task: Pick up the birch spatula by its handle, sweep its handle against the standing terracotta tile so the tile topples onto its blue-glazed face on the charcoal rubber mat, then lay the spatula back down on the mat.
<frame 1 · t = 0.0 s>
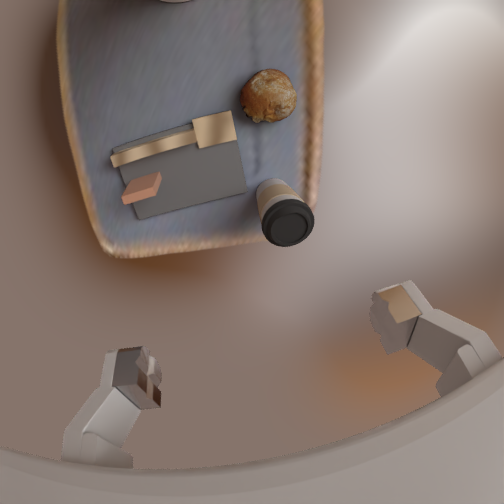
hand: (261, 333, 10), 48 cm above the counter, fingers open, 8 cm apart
spatula: (154, 145, 49), point 1 cm above the counter, touching mat
tile: (146, 179, 52), point 1 cm above the counter, touching mat
coffee cup: (272, 193, 59), on the counter
mat: (180, 167, 53), on the counter
bread roll: (266, 96, 48), on the counter
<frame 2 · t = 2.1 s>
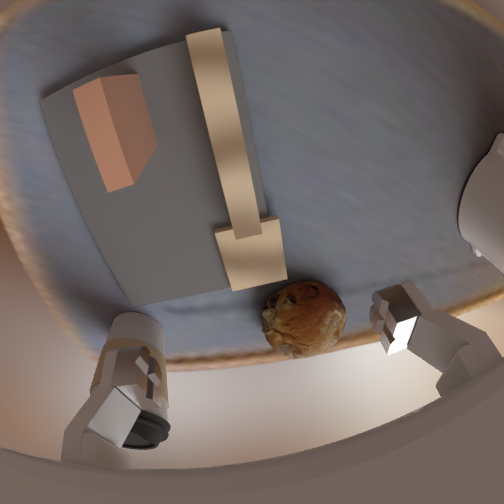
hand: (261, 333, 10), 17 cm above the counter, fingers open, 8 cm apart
spatula: (225, 133, 21), point 1 cm above the counter, touching mat
tile: (138, 112, 19), point 1 cm above the counter, touching mat
coffee cup: (138, 329, 34), on the counter
mat: (165, 188, 24), on the counter
bread roll: (298, 306, 35), on the counter
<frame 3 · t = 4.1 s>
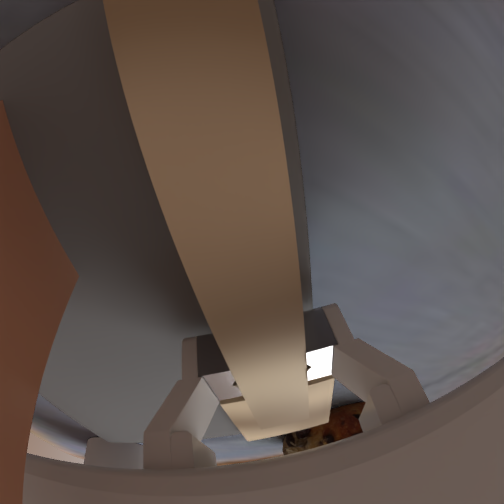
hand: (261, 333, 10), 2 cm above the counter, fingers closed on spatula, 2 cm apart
spatula: (241, 250, 8), point 1 cm above the counter, touching gripper, mat
tile: (18, 202, 6), point 1 cm above the counter, touching mat
coffee cup: (121, 447, 21), on the counter
mat: (118, 334, 11), on the counter
bread roll: (330, 422, 22), on the counter
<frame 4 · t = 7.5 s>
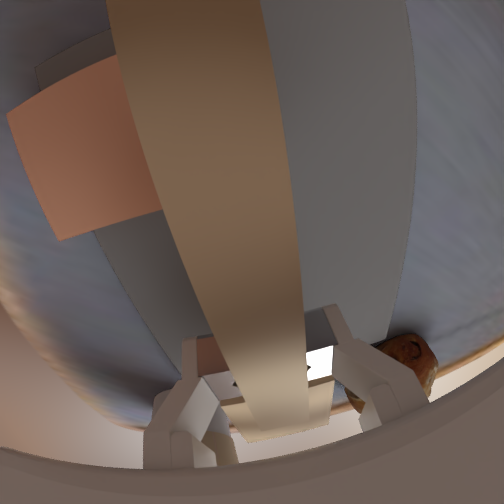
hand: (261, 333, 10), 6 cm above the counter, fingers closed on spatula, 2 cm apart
spatula: (242, 253, 8), point 6 cm above the counter, touching gripper
tile: (222, 107, 9), point 2 cm above the counter, tilted 90°, touching mat
coffee cup: (188, 402, 25), on the counter
mat: (268, 236, 15), on the counter
bread roll: (383, 360, 26), on the counter
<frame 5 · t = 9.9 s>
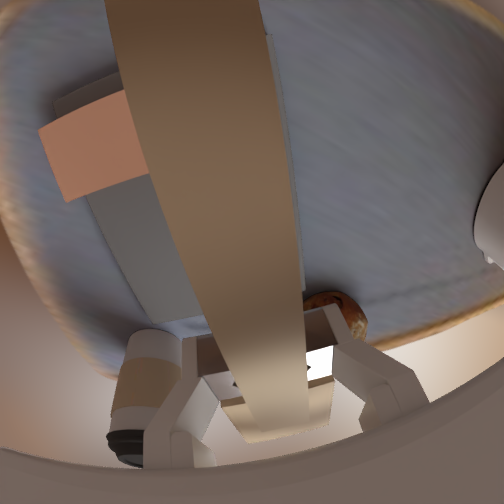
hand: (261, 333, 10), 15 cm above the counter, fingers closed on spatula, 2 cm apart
spatula: (242, 255, 8), point 14 cm above the counter, touching gripper
tile: (152, 124, 17), point 2 cm above the counter, tilted 90°, touching mat
coffee cup: (155, 345, 32), on the counter
mat: (193, 201, 23), on the counter
bread roll: (318, 317, 34), on the counter
when the fingers open (2 cm above the counter, at t = 12.2 s): spatula stays where it is, resting on mat.
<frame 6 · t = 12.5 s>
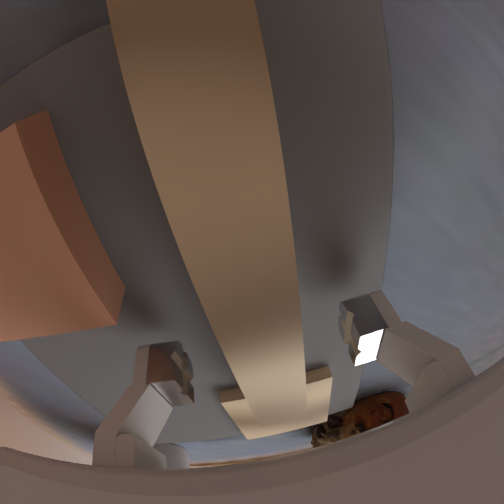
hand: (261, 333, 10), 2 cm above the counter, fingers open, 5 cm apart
spatula: (241, 252, 9), point 1 cm above the counter, touching mat
tile: (74, 222, 6), point 2 cm above the counter, tilted 90°, touching mat
coffee cup: (152, 448, 22), on the counter
mat: (190, 334, 12), on the counter
bread roll: (356, 413, 23), on the counter
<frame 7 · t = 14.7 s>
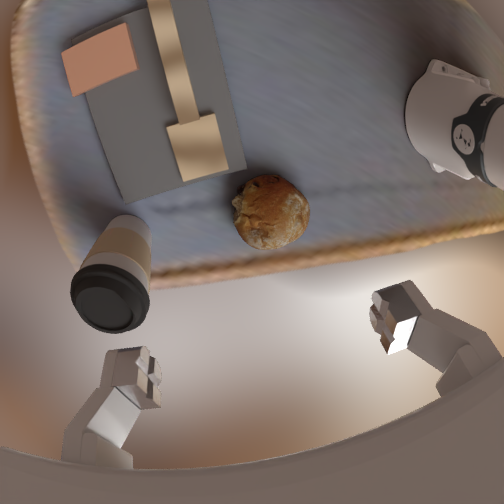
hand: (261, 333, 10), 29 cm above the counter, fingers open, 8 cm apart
spatula: (173, 55, 25), point 1 cm above the counter, touching mat
tile: (132, 45, 23), point 2 cm above the counter, tilted 90°, touching mat
coffee cup: (128, 235, 38), on the counter
mat: (157, 97, 29), on the counter
bread roll: (266, 205, 39), on the counter
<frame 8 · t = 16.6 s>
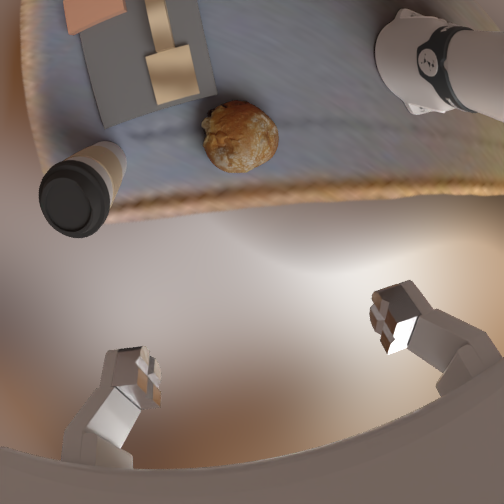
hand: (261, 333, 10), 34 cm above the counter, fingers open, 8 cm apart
spatula: (156, 0, 24), point 1 cm above the counter, touching mat
coffee cup: (105, 163, 37), on the counter
mat: (140, 34, 27), on the counter
bread roll: (236, 133, 38), on the counter
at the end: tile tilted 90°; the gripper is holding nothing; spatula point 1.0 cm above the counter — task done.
